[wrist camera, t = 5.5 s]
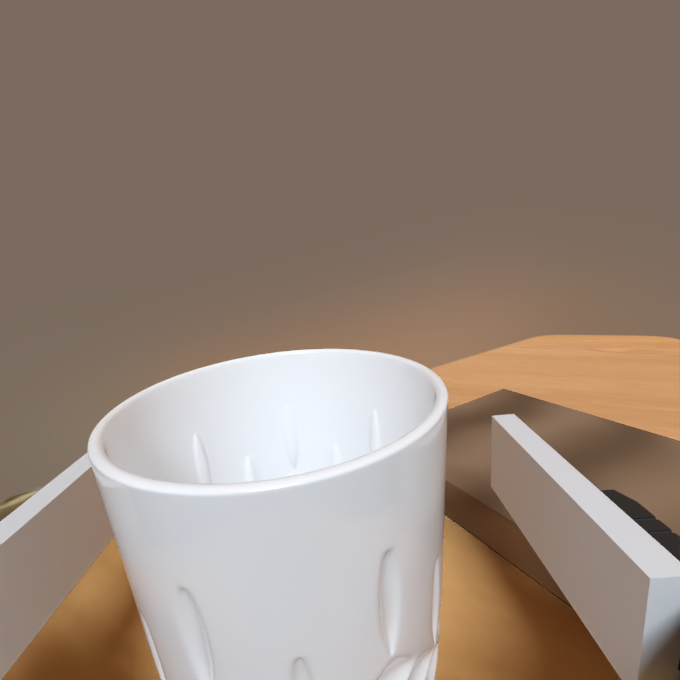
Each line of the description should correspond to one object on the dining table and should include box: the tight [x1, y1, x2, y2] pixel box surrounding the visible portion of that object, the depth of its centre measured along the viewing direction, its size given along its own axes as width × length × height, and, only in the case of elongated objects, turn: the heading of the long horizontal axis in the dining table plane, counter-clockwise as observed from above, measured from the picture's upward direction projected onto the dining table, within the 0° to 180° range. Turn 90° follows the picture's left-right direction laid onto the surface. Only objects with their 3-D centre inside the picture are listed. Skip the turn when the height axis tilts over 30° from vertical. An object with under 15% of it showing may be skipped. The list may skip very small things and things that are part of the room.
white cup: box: [87, 349, 448, 680], centre depth 10 cm, size 8×8×10 cm
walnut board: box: [445, 389, 680, 680], centre depth 19 cm, size 16×12×2 cm
